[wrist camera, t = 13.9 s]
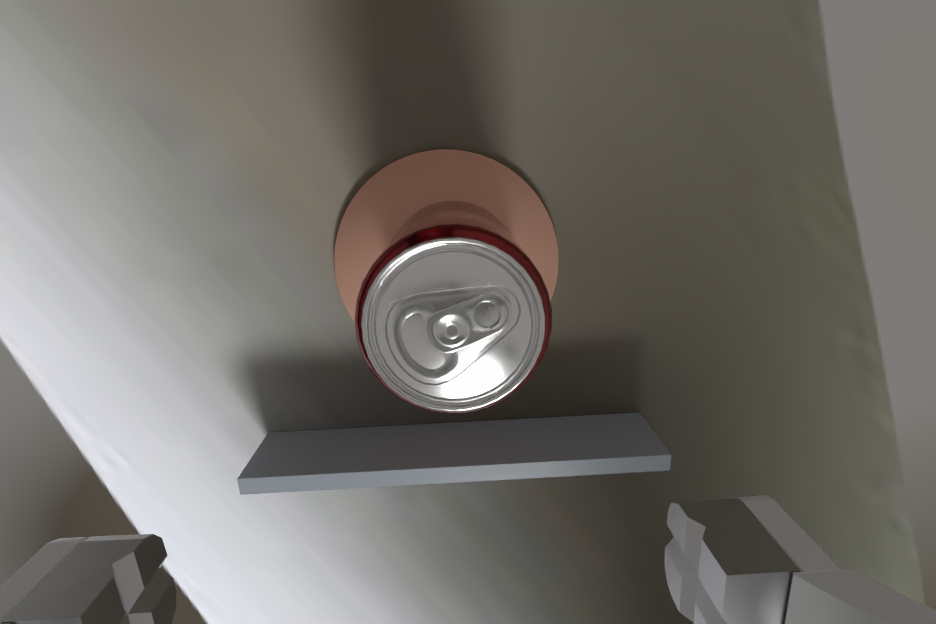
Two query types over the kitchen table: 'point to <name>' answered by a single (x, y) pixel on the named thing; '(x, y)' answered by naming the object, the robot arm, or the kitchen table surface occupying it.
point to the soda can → (453, 311)
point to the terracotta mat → (431, 182)
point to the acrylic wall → (454, 453)
